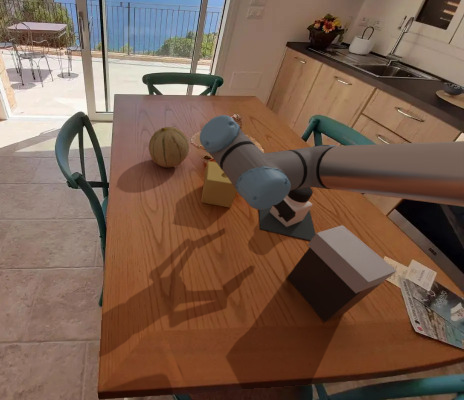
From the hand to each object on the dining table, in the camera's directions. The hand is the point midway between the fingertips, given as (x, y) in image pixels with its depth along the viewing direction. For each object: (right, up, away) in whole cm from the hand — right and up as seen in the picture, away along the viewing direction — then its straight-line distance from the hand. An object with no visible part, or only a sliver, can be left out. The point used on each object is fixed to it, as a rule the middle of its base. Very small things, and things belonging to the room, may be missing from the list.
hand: (273, 201), depth 76 cm
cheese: (-12, +2, +15) cm, 19 cm away
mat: (+8, -5, +9) cm, 13 cm away
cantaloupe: (-28, +14, +28) cm, 42 cm away
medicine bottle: (+8, -5, +9) cm, 13 cm away
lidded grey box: (+4, -23, -11) cm, 26 cm away
